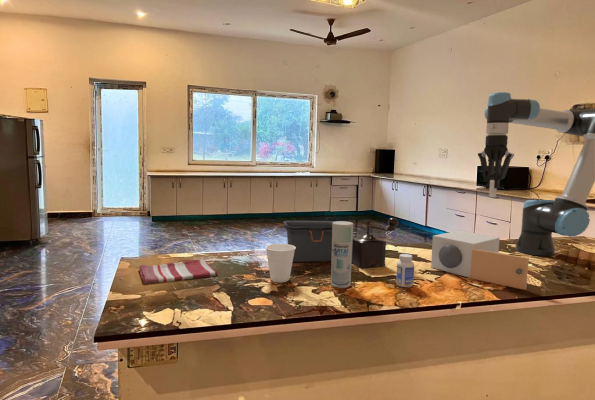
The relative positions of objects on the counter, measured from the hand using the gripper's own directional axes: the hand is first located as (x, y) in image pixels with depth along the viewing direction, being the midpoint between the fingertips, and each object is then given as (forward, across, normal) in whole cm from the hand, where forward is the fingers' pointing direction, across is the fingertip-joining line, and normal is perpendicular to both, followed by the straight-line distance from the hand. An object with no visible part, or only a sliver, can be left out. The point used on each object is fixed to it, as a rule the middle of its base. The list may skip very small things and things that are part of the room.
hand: (492, 196), depth 163 cm
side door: (+25, +15, -25) cm, 39 cm away
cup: (+25, -31, -79) cm, 89 cm away
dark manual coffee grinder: (+26, -26, -38) cm, 53 cm away
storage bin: (+25, -43, -54) cm, 74 cm away
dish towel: (+25, -58, -102) cm, 120 cm away
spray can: (+25, -16, -66) cm, 73 cm away
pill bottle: (+26, -3, -50) cm, 56 cm away
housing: (+26, -1, -16) cm, 30 cm away
